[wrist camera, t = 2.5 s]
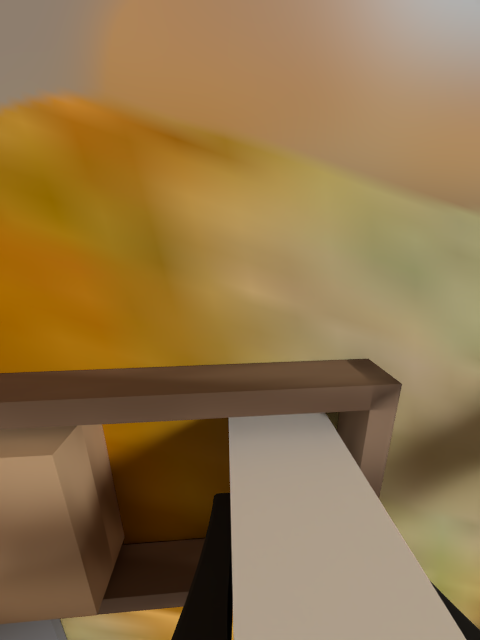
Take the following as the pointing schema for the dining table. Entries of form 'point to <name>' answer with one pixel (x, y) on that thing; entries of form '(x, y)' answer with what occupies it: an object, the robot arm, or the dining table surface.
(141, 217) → the dining table surface
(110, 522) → the tan rectangular block
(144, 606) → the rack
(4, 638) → the mat
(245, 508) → the cream rectangular prism
